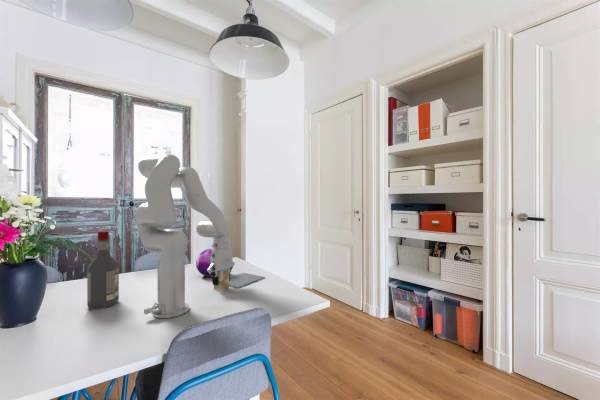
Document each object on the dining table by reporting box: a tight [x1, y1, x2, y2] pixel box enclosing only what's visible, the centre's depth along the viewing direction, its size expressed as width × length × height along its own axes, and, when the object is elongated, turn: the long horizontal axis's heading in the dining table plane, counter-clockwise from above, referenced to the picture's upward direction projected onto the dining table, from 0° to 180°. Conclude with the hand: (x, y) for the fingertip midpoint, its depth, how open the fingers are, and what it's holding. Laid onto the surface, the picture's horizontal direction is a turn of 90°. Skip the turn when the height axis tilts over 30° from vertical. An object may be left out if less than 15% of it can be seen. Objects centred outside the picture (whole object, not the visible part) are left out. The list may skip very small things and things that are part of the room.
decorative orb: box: [195, 248, 213, 277], centre depth 152 cm, size 15×15×15 cm
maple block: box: [213, 268, 230, 292], centre depth 129 cm, size 5×5×10 cm
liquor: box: [86, 230, 120, 310], centre depth 110 cm, size 9×9×30 cm
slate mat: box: [229, 272, 266, 289], centre depth 143 cm, size 20×16×1 cm
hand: (221, 282), depth 129 cm, fingers open, 6 cm apart
